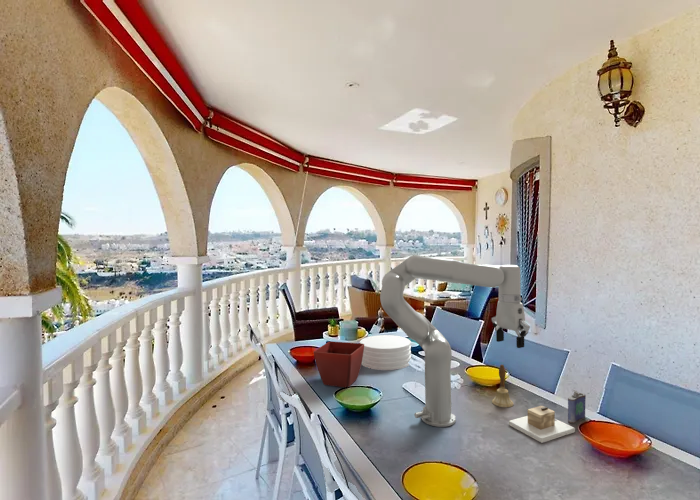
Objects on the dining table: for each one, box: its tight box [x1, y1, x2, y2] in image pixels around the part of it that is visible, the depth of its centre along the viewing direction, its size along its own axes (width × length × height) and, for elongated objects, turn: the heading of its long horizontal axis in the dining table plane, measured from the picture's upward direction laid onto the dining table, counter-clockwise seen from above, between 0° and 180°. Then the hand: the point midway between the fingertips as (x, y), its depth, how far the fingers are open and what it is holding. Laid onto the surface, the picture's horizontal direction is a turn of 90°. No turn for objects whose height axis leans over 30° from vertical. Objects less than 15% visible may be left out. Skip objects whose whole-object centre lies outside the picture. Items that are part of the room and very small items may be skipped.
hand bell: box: [491, 364, 515, 408], centre depth 162 cm, size 8×8×16 cm
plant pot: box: [313, 340, 364, 388], centre depth 190 cm, size 19×19×17 cm
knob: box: [527, 405, 556, 430], centre depth 140 cm, size 7×5×6 cm
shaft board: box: [508, 415, 576, 444], centre depth 140 cm, size 16×14×5 cm
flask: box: [567, 389, 586, 424], centre depth 146 cm, size 9×3×11 cm, turn 121°
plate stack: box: [359, 334, 412, 371], centre depth 219 cm, size 28×28×12 cm
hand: (510, 344), depth 147 cm, fingers open, 9 cm apart
